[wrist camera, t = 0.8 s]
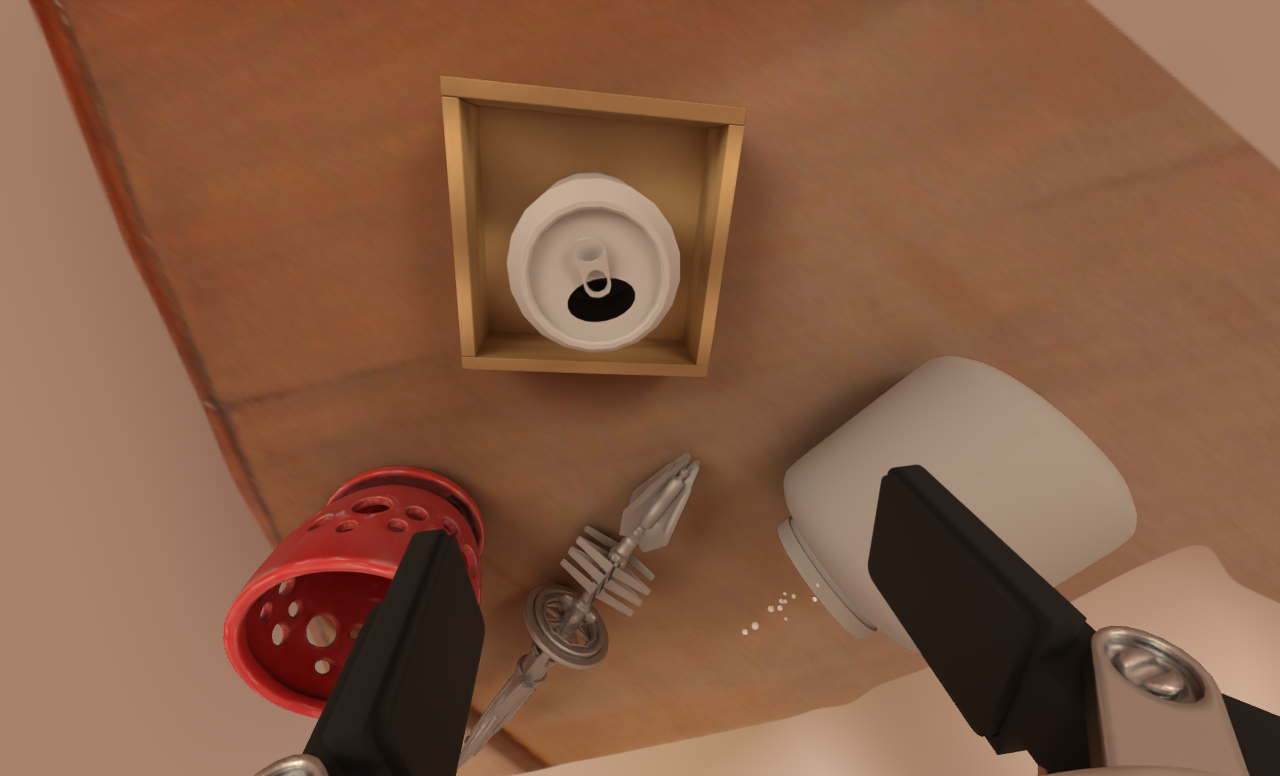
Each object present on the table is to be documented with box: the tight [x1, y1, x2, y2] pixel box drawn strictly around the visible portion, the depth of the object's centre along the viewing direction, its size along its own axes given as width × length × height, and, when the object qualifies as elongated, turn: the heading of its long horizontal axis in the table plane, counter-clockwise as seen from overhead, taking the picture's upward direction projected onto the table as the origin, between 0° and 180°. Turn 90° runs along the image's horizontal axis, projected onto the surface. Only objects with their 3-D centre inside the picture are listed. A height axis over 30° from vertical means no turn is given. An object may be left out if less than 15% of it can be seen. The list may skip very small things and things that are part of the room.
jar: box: [742, 356, 1137, 655], centre depth 34 cm, size 19×15×25 cm
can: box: [507, 172, 680, 353], centre depth 25 cm, size 8×8×12 cm
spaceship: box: [457, 452, 700, 769], centre depth 40 cm, size 8×35×8 cm
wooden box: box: [440, 76, 747, 377], centre depth 29 cm, size 15×15×5 cm
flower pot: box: [223, 466, 485, 719], centre depth 33 cm, size 13×13×12 cm
